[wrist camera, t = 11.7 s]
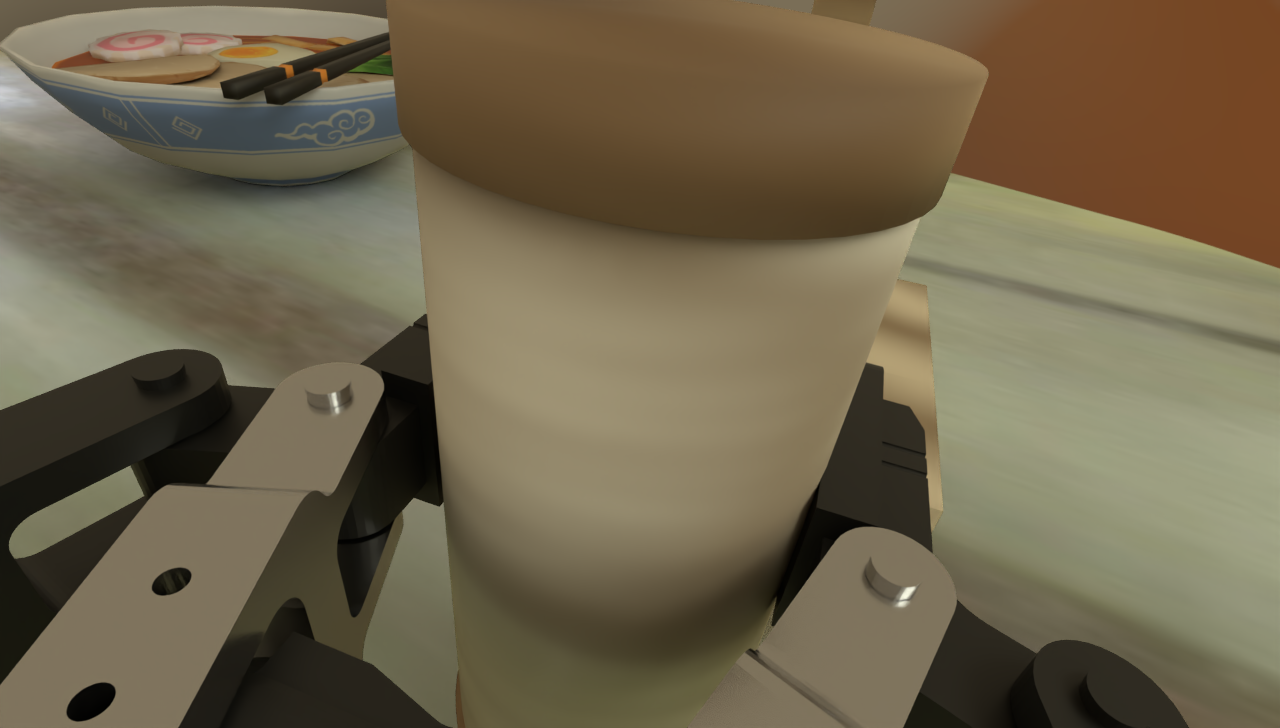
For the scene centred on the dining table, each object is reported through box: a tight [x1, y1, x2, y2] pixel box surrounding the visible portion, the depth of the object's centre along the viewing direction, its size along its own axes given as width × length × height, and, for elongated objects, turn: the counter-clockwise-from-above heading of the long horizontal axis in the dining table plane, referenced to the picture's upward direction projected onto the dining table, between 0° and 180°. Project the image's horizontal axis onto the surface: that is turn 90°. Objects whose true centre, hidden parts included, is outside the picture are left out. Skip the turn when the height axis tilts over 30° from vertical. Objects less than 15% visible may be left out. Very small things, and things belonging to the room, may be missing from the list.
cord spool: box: [386, 0, 989, 728], centre depth 9 cm, size 5×5×12 cm
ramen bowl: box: [0, 6, 409, 186], centre depth 38 cm, size 25×23×8 cm
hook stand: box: [811, 0, 943, 533], centre depth 22 cm, size 16×14×22 cm
